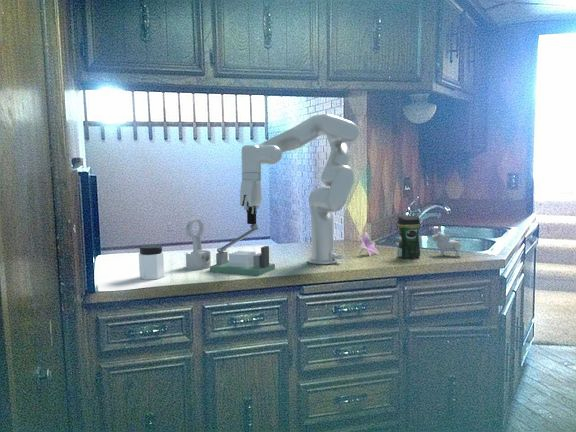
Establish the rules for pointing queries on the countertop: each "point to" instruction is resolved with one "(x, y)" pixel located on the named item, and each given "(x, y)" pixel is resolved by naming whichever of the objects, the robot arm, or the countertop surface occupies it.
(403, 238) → the coffee jar
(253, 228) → the thin grey bar
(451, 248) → the dog figurine
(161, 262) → the jar
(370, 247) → the lily
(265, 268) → the base
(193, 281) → the countertop surface
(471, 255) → the countertop surface
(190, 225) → the engine component
